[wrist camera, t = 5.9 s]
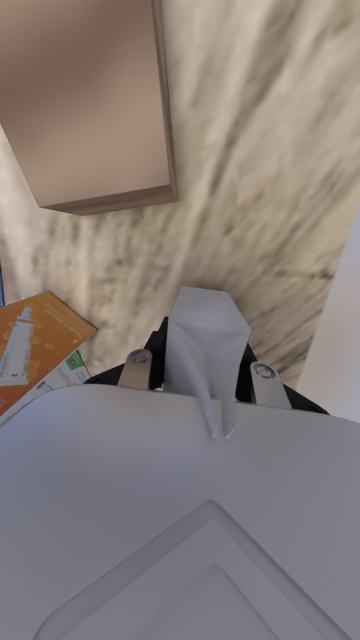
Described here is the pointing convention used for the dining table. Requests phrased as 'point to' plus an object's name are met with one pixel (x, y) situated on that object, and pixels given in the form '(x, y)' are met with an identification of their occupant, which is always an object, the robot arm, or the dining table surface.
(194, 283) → the dining table surface
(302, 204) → the dining table surface
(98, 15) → the base block
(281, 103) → the dining table surface
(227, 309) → the white carton
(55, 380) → the ink box
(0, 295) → the ink cartridge box
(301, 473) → the robot arm
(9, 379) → the small box
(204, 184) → the dining table surface
